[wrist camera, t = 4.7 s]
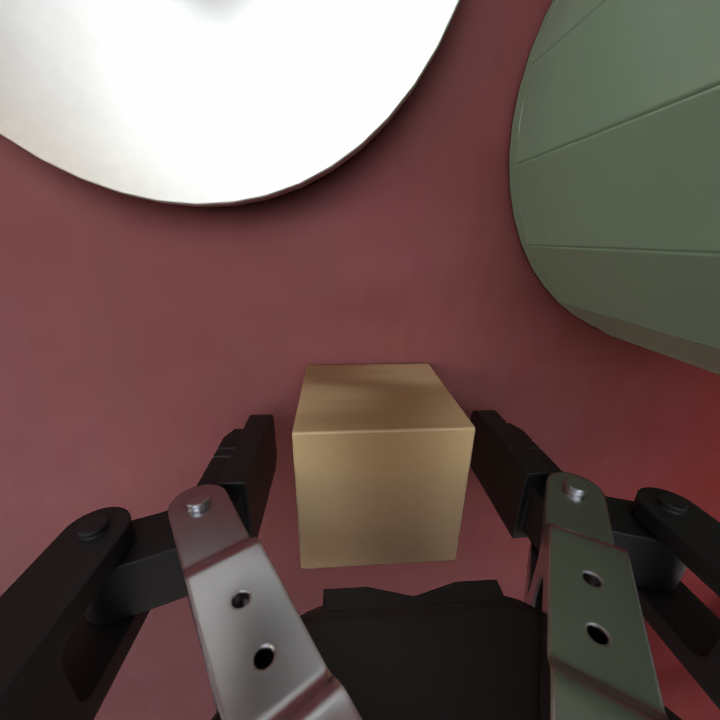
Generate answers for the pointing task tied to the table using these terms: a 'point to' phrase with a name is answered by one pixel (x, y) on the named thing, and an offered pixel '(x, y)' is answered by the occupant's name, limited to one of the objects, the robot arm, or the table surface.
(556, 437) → the table surface
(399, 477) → the block
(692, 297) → the tin
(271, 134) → the lid
